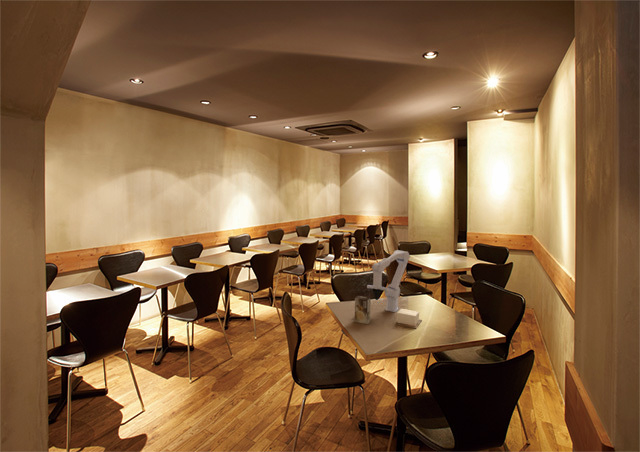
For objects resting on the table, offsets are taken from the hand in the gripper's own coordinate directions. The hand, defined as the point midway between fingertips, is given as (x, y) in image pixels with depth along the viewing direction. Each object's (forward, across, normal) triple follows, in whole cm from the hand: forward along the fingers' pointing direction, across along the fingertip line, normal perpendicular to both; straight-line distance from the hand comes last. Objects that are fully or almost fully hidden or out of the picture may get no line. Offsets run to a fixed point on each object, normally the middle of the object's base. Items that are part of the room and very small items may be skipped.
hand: (376, 299), depth 233 cm
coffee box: (+11, -3, -18) cm, 21 cm away
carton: (+6, +17, -4) cm, 19 cm away
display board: (+10, +25, -4) cm, 27 cm away
